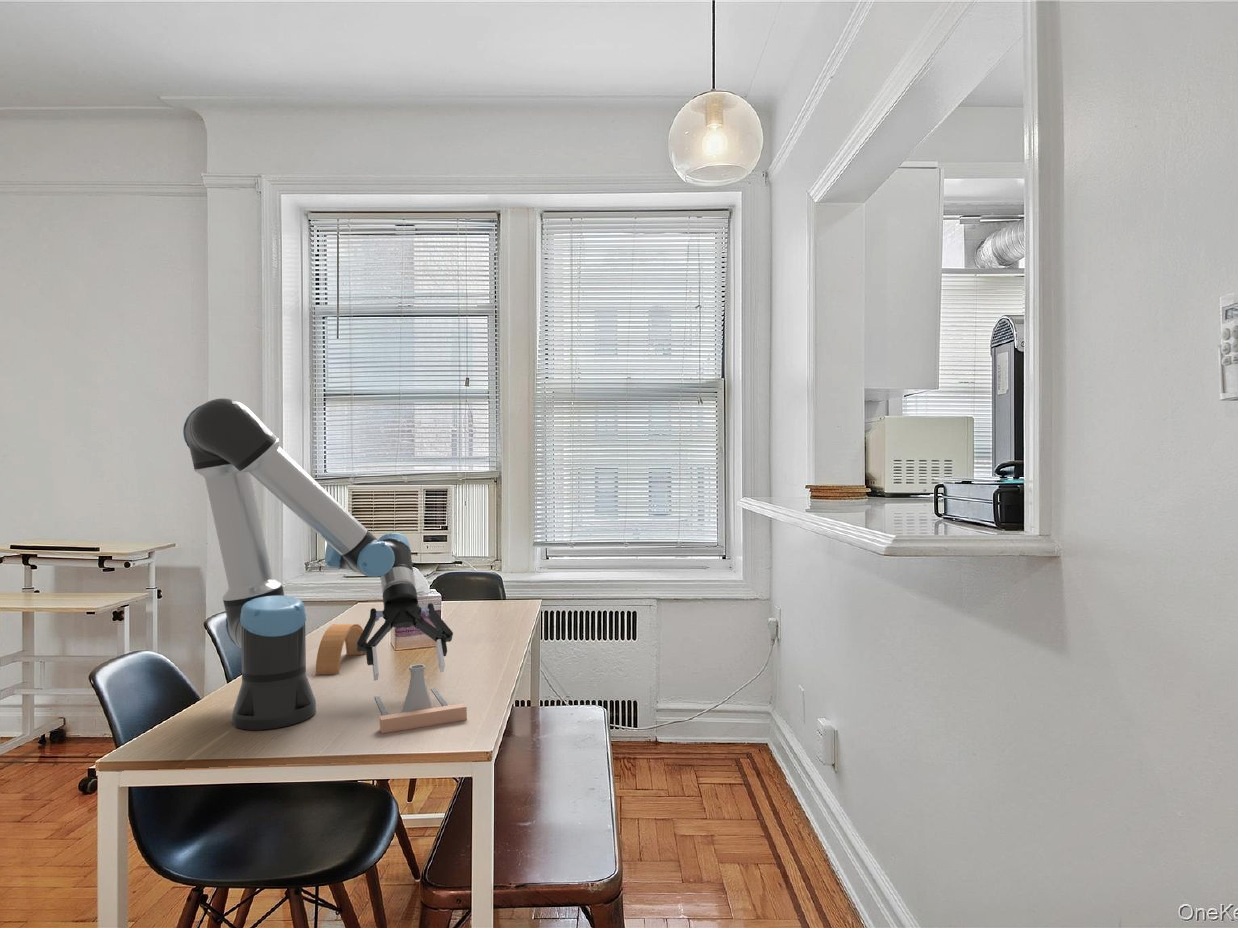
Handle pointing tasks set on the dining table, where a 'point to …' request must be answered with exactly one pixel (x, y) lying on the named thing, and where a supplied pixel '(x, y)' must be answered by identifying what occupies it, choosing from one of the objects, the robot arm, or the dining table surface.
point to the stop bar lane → (421, 716)
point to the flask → (417, 691)
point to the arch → (337, 647)
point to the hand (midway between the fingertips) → (410, 672)
